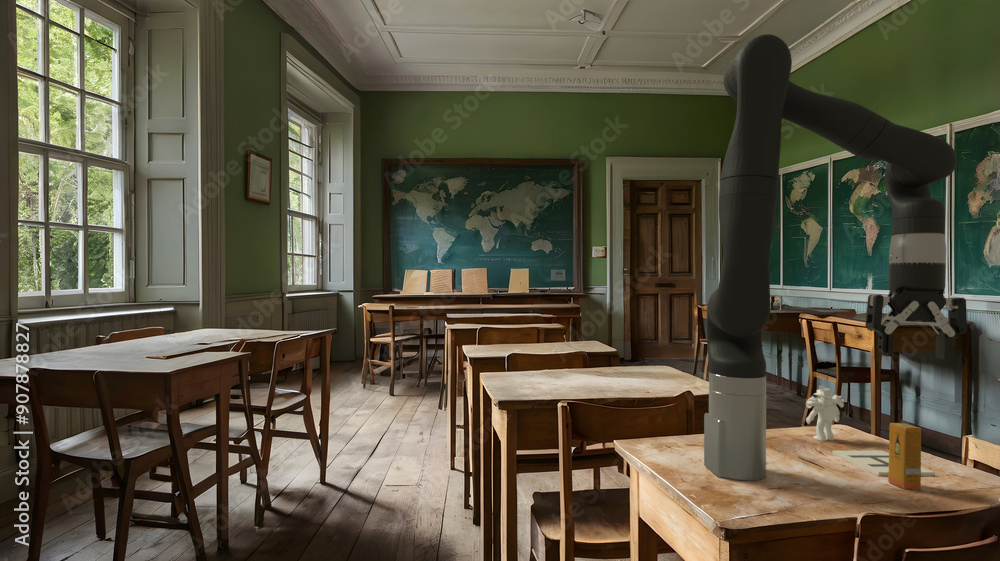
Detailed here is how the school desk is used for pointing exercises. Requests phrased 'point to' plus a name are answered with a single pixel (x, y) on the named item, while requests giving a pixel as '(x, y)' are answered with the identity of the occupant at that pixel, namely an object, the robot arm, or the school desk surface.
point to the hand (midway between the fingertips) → (914, 357)
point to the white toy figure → (824, 412)
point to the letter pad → (873, 461)
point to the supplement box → (905, 456)
